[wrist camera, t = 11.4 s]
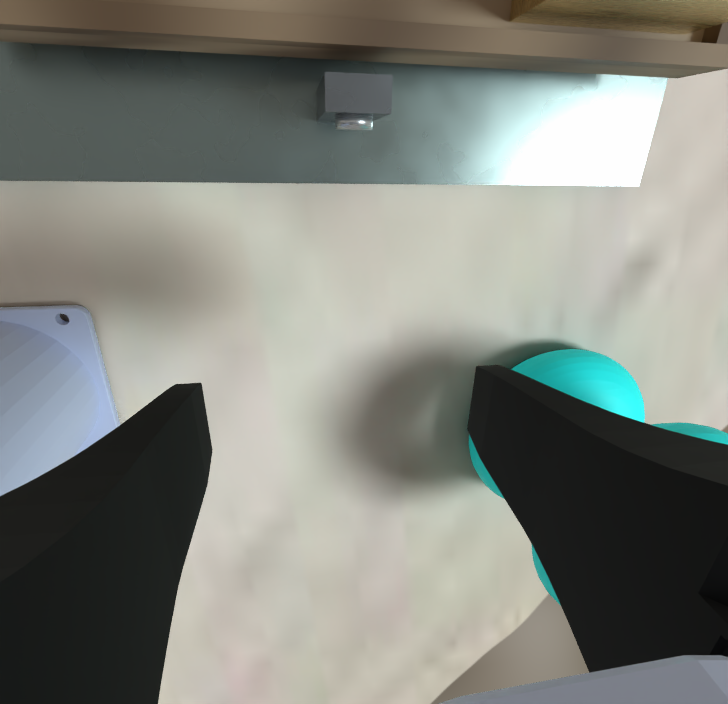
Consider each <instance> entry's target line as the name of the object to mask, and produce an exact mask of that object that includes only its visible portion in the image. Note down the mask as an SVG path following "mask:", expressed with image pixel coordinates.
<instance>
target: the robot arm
mask: <svg viewBox="0 0 728 704" xmlns="http://www.w3.org/2000/svg"><path fill="white" fill-rule="evenodd" d="M60 313H61V314H65V315H66V316H68V318H69V322H66V321H64V320H62V319H61V317H60ZM467 429H468V432H469V434H470V437H471V439H472V441H473V444H474V446H475V448H476V451H477V453H478V455H479V457H480V459H481V461H482V463H483V464H484V466H485V468H486V469H487V471H488V473H489V474H490V476H491V478H492V479H493V481H494V482H495V484H496V486H497V487H498V489H499V490H500V492H501V494H502V495H503V497H504V498H505V500H506V502H507V503H508V505H509V506H510V508H511V510H512V511H513V513H514V514H515V516H516V518H517V519H518V521H519V522H520V524H521V526H522V527H523V529H524V531H525V532H526V534H527V536H528V538H529V540H530V541H531V543H532V545H533V547H534V549H535V551H536V553H537V555H538V557H539V559H540V562H541V564H542V566H543V568H544V570H545V572H546V574H547V576H548V578H549V580H550V582H551V584H552V587H553V589H554V591H555V593H556V596H557V598H558V600H559V602H560V604H561V606H562V609H563V611H564V613H565V615H566V618H567V620H568V622H569V625H570V627H571V629H572V632H573V634H574V637H575V639H576V641H577V644H578V646H579V649H580V651H581V653H582V656H583V658H584V661H585V663H586V665H587V668H588V670H589V673H585V674H580V675H574V676H569V677H564V678H558V679H552V680H547V681H542V682H536V683H531V684H525V685H520V686H515V687H509V688H503V689H498V690H493V691H488V692H482V693H477V694H471V695H465V696H461V697H457V698H454V699H451V700H448V701H445V702H442V703H439V704H728V444H723V443H718V442H714V441H709V440H705V439H701V438H697V437H693V436H689V435H685V434H681V433H678V432H674V431H670V430H666V429H663V428H659V427H656V426H653V425H649V424H646V423H643V422H640V421H637V420H634V419H631V418H628V417H625V416H622V415H619V414H616V413H613V412H611V411H608V410H605V409H603V408H600V407H598V406H595V405H593V404H590V403H587V402H585V401H582V400H580V399H578V398H575V397H573V396H571V395H568V394H566V393H564V392H561V391H559V390H557V389H554V388H552V387H550V386H548V385H546V384H543V383H541V382H539V381H537V380H534V379H532V378H530V377H528V376H525V375H523V374H521V373H518V372H516V371H513V370H511V369H508V368H505V367H502V366H499V365H490V366H476V372H475V379H474V386H473V393H472V400H471V407H470V414H469V421H468V428H467ZM211 456H212V445H211V439H210V433H209V427H208V421H207V414H206V408H205V402H204V396H203V390H202V384H201V383H190V384H175V385H174V386H172V387H170V388H169V389H168V390H166V391H165V392H163V393H162V394H161V395H159V396H158V397H157V398H156V399H154V400H153V401H152V402H150V403H149V404H148V405H146V406H145V407H144V408H142V409H141V410H140V411H138V412H137V413H136V414H134V415H133V416H132V417H131V418H129V419H128V420H127V421H125V422H124V423H123V424H121V425H120V422H119V418H118V414H117V410H116V407H115V403H114V399H113V395H112V392H111V388H110V384H109V381H108V377H107V373H106V369H105V366H104V362H103V358H102V354H101V351H100V347H99V343H98V339H97V336H96V332H95V328H94V324H93V321H92V317H91V314H90V312H89V311H88V310H87V309H86V308H84V307H82V306H79V305H62V306H31V307H0V704H158V699H159V692H160V685H161V679H162V673H163V668H164V662H165V656H166V650H167V644H168V638H169V632H170V627H171V622H172V616H173V611H174V606H175V600H176V595H177V590H178V585H179V581H180V577H181V573H182V569H183V566H184V562H185V559H186V556H187V552H188V549H189V545H190V542H191V539H192V535H193V532H194V529H195V525H196V522H197V519H198V515H199V512H200V508H201V505H202V502H203V498H204V495H205V491H206V487H207V483H208V477H209V471H210V463H211Z"/></svg>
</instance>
